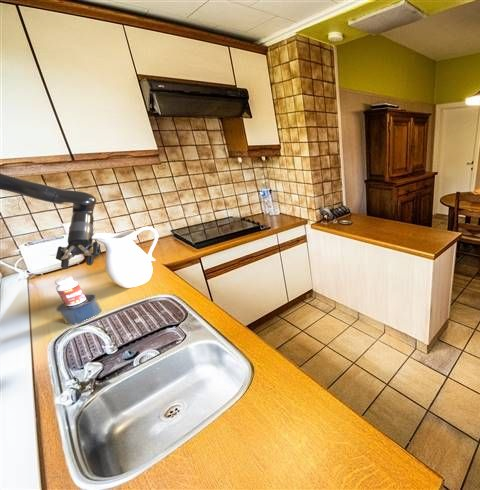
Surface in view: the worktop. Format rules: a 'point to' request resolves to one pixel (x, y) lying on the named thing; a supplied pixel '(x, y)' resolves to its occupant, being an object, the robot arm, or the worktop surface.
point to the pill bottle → (69, 291)
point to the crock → (80, 310)
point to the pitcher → (127, 257)
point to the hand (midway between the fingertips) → (77, 266)
